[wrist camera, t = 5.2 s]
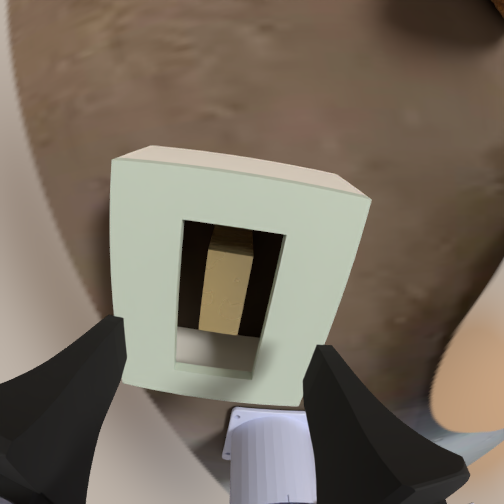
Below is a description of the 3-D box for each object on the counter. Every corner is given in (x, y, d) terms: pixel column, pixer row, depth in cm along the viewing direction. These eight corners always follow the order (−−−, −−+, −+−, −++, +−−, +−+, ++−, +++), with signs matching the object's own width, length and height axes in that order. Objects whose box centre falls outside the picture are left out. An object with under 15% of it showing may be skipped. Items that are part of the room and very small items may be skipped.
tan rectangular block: (238, 294, 19) (237, 335, 16) (206, 289, 19) (198, 329, 16) (252, 225, 18) (253, 257, 14) (216, 220, 17) (208, 249, 14)
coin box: (288, 347, 21) (298, 406, 16) (144, 327, 20) (122, 382, 15) (336, 174, 16) (371, 199, 11) (151, 145, 15) (111, 159, 11)
